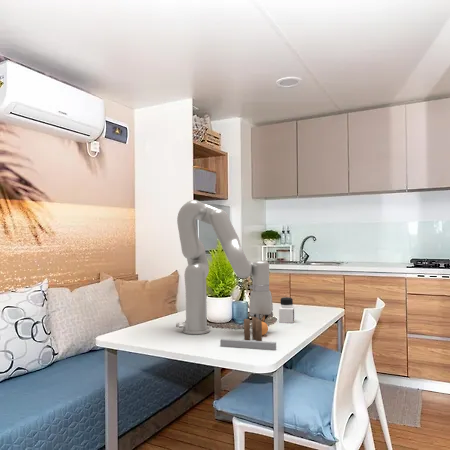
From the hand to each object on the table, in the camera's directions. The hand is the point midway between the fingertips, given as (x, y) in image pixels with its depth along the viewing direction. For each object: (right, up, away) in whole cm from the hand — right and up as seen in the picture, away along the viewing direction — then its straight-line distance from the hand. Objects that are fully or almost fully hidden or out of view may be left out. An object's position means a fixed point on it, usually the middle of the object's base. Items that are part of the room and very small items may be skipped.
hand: (261, 329), depth 188 cm
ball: (-1, +2, -6) cm, 6 cm away
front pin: (-4, -1, -12) cm, 13 cm away
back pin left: (-7, -1, -16) cm, 17 cm away
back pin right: (-2, -1, -17) cm, 17 cm away
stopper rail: (-7, -1, -25) cm, 26 cm away
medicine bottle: (+15, -2, +22) cm, 26 cm away
